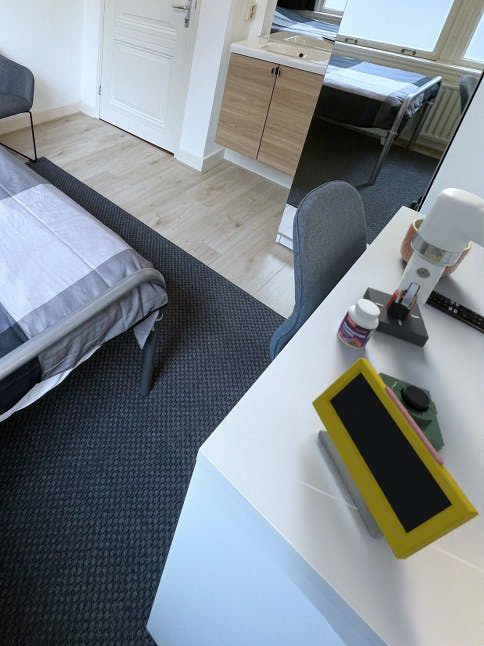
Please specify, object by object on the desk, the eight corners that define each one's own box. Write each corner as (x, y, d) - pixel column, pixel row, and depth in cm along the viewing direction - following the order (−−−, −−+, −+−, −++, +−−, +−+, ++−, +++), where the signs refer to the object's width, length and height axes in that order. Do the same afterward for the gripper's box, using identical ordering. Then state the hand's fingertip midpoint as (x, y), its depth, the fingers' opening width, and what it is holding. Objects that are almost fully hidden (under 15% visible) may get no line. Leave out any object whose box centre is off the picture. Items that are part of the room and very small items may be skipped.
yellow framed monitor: (304, 414, 74) (336, 356, 66) (345, 411, 75) (381, 354, 67) (385, 569, 56) (441, 515, 49) (438, 564, 57) (500, 509, 50)
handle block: (412, 312, 96) (418, 302, 95) (422, 347, 88) (429, 337, 86) (363, 296, 99) (368, 286, 98) (368, 328, 91) (374, 318, 90)
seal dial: (388, 300, 95) (397, 285, 92) (409, 311, 92) (418, 295, 90) (384, 310, 92) (393, 294, 90) (405, 321, 90) (415, 306, 87)
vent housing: (375, 378, 81) (383, 365, 79) (423, 398, 78) (433, 385, 76) (383, 429, 72) (393, 415, 71) (438, 452, 70) (450, 439, 68)
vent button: (399, 387, 76) (403, 381, 75) (422, 396, 74) (427, 390, 74) (403, 405, 73) (407, 399, 72) (428, 415, 72) (432, 409, 71)
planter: (444, 291, 103) (466, 258, 98) (388, 261, 111) (406, 229, 106) (455, 269, 110) (476, 237, 105) (402, 243, 118) (419, 212, 113)
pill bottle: (332, 336, 89) (349, 304, 84) (342, 323, 92) (359, 291, 87) (359, 355, 85) (378, 322, 80) (369, 341, 88) (388, 309, 84)
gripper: (453, 278, 76) (409, 345, 84) (463, 238, 87) (423, 300, 96) (405, 256, 80) (368, 321, 89) (421, 220, 91) (386, 281, 100)
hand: (397, 309), depth 92 cm, fingers open, 4 cm apart
